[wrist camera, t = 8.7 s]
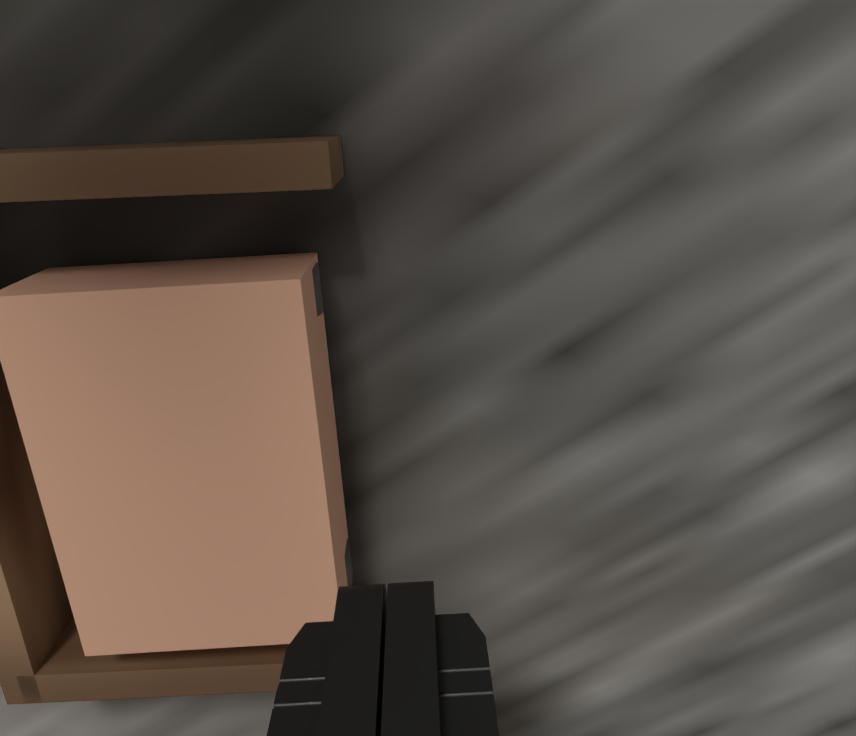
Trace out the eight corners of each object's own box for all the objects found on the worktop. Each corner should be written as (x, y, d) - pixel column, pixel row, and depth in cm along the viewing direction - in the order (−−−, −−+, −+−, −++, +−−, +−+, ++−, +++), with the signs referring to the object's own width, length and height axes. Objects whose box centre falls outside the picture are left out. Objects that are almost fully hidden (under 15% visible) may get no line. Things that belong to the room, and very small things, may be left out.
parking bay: (-77, 152, 18) (-170, 160, 15) (340, 135, 18) (328, 140, 15) (56, 630, 23) (7, 704, 20) (377, 615, 23) (373, 686, 20)
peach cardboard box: (53, 263, 19) (-23, 298, 15) (322, 248, 19) (304, 278, 15) (129, 575, 22) (81, 656, 19) (356, 561, 22) (347, 640, 19)
